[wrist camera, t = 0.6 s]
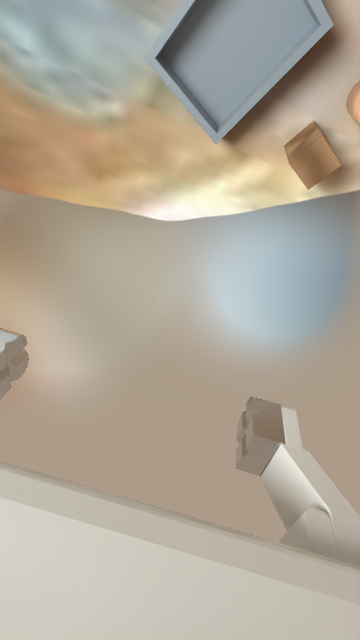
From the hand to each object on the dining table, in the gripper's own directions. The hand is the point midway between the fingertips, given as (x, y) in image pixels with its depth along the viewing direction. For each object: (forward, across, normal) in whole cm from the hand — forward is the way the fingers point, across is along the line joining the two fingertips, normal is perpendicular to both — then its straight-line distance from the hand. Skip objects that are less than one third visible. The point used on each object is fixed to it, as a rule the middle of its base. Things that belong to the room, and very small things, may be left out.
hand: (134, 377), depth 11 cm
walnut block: (+51, -12, -7) cm, 53 cm away
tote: (+48, +3, -17) cm, 51 cm away
